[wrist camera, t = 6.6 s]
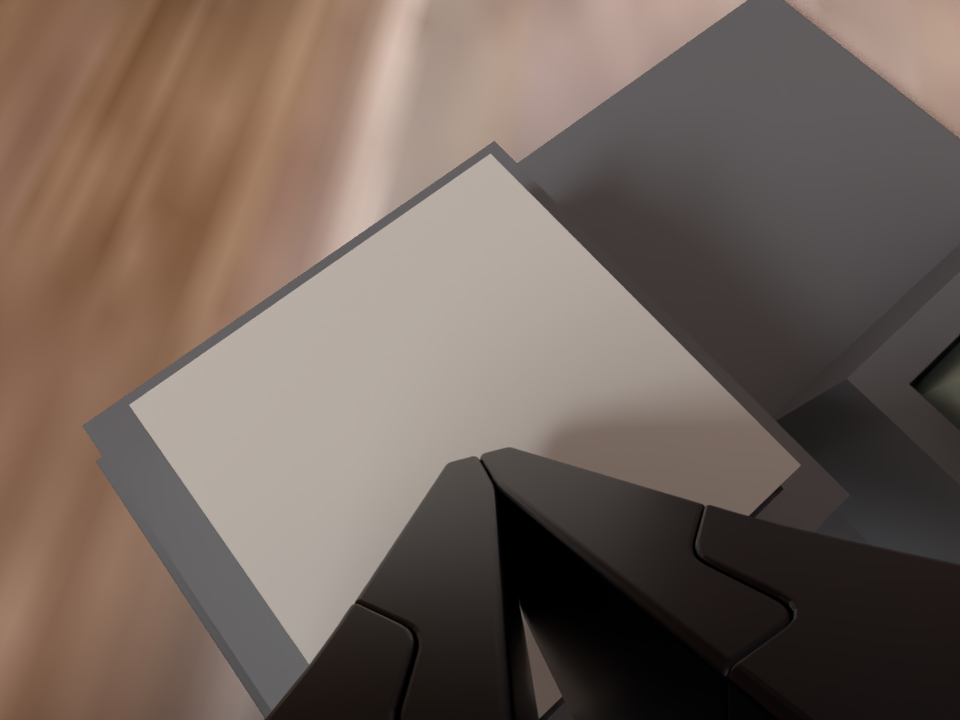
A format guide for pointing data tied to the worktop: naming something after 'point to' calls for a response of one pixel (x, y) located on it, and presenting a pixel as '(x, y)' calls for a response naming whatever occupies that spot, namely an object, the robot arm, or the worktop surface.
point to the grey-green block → (944, 386)
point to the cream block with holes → (438, 398)
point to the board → (705, 295)
